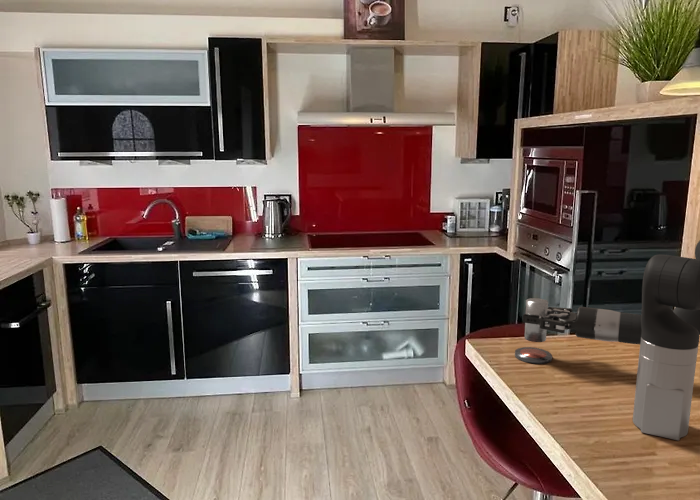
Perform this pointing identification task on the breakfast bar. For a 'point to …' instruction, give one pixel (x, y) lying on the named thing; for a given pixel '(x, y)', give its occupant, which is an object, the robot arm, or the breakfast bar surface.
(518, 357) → the flange pad
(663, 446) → the breakfast bar surface
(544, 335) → the grey metal cylinder
